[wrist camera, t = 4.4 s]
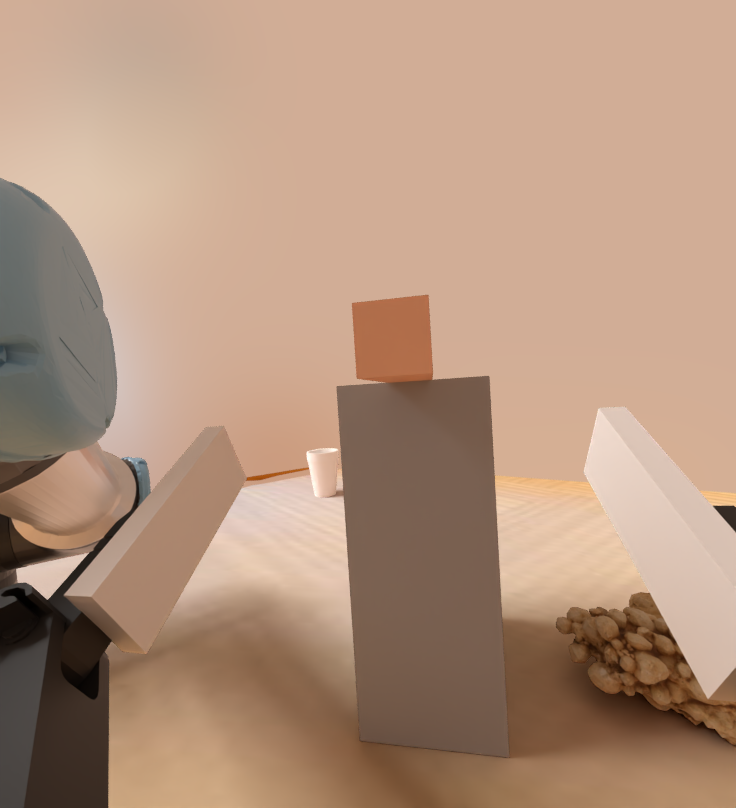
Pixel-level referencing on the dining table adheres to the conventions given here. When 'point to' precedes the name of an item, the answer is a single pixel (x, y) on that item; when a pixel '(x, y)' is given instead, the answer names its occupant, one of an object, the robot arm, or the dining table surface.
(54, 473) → the robot arm
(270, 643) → the dining table surface
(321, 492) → the foam cup
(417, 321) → the rail
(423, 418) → the stand
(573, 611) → the mineral formation
